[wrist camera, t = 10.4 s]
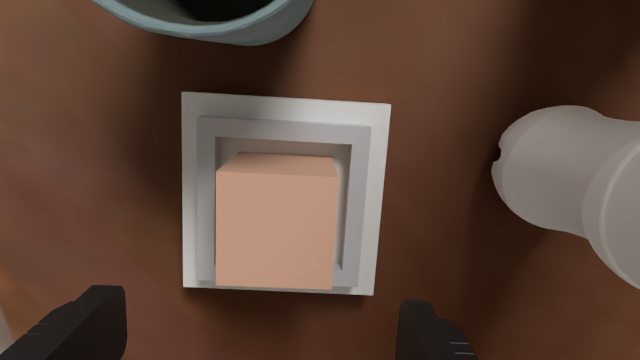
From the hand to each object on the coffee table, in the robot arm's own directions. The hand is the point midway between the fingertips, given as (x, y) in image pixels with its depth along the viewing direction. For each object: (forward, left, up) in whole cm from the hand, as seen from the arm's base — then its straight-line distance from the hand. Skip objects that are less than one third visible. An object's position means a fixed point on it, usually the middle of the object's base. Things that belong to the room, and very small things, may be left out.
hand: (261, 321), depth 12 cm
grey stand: (0, 0, -15) cm, 15 cm away
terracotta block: (0, 0, -13) cm, 13 cm away
